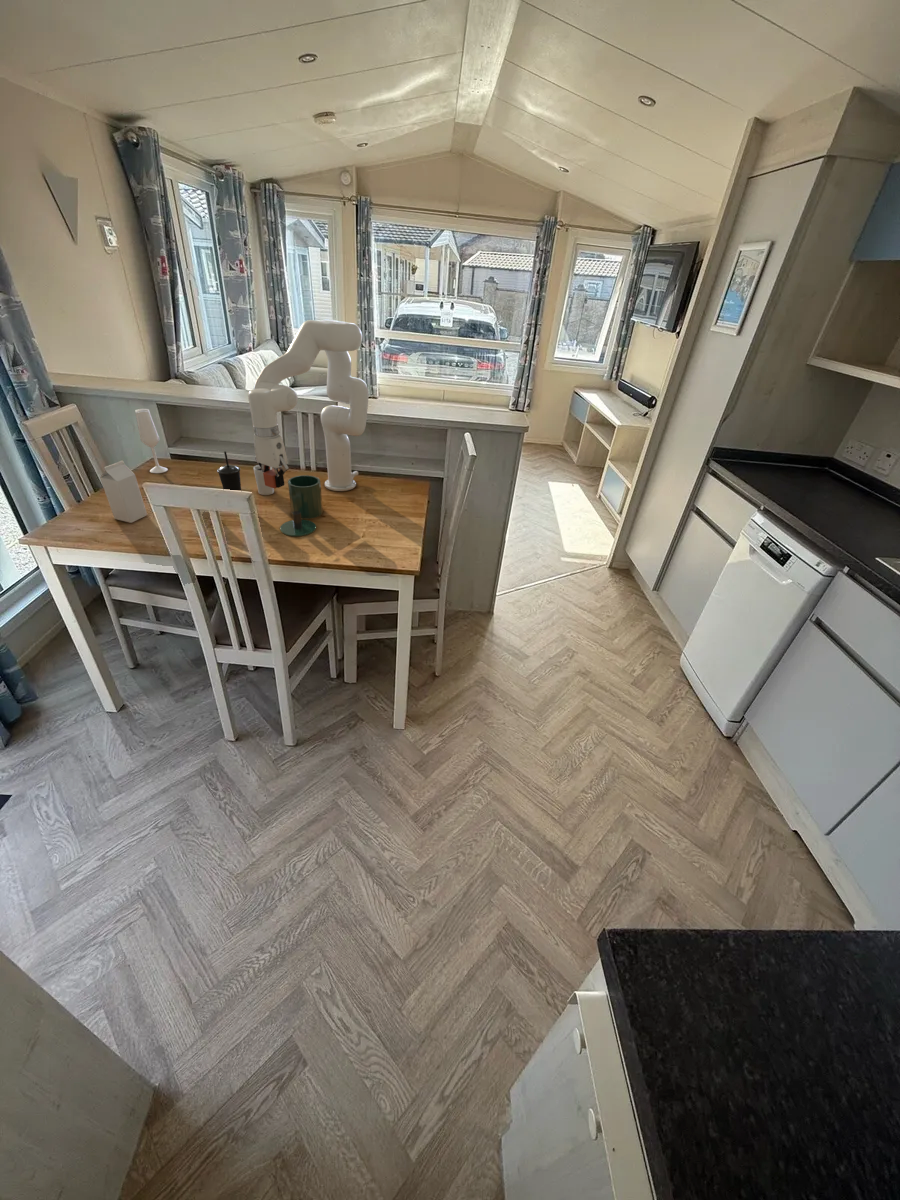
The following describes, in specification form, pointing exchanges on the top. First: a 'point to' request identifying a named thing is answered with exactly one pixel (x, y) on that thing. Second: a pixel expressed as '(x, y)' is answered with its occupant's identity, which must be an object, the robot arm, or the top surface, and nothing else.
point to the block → (270, 478)
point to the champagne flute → (149, 435)
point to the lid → (297, 526)
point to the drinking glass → (262, 482)
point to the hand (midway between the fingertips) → (274, 483)
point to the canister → (305, 496)
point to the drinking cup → (229, 476)
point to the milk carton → (123, 492)
